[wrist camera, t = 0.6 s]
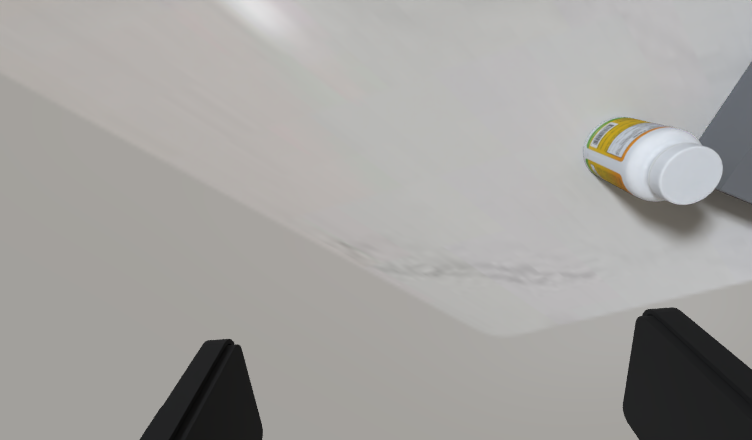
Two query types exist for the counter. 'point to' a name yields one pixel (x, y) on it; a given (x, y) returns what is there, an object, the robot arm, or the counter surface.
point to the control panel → (734, 140)
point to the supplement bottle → (652, 160)
